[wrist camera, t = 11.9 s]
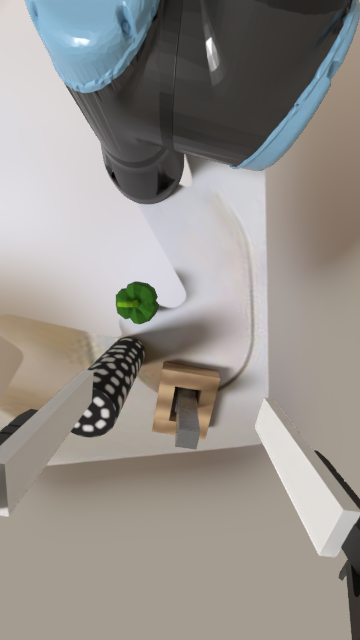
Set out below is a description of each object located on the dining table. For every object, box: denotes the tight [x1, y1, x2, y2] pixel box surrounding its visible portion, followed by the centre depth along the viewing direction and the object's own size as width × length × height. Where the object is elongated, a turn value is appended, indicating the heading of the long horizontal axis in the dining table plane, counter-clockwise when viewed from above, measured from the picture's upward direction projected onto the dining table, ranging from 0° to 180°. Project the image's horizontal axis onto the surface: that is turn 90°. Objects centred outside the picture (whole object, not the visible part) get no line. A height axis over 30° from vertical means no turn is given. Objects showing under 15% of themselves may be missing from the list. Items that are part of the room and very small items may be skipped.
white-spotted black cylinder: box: [70, 337, 145, 437], centre depth 33 cm, size 8×8×20 cm
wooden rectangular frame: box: [152, 362, 221, 439], centre depth 44 cm, size 18×14×4 cm
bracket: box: [175, 387, 200, 449], centre depth 39 cm, size 7×4×14 cm, turn 170°
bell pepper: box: [116, 282, 159, 324], centre depth 35 cm, size 8×8×10 cm
